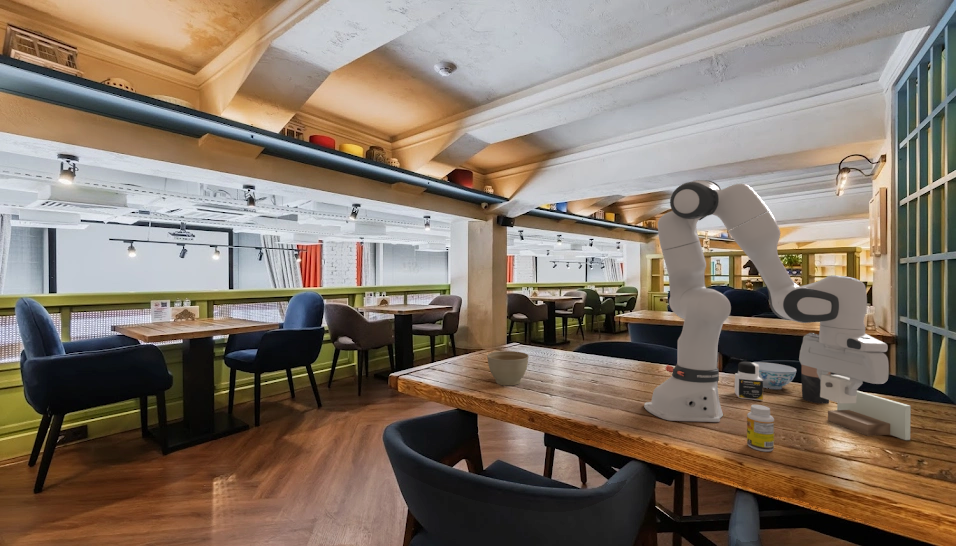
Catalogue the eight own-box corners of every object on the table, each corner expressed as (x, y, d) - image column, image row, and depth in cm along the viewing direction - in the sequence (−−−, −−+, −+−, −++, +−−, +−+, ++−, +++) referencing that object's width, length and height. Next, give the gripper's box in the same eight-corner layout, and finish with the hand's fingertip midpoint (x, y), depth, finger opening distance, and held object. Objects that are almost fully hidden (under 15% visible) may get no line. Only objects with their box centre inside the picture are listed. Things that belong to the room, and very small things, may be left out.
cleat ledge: (867, 435, 109) (867, 424, 109) (827, 420, 120) (827, 410, 120) (890, 434, 110) (890, 423, 110) (848, 419, 121) (848, 409, 121)
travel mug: (835, 404, 135) (836, 344, 135) (809, 403, 136) (810, 343, 136) (821, 397, 142) (821, 340, 142) (796, 396, 144) (797, 339, 144)
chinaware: (748, 379, 166) (748, 360, 165) (795, 385, 157) (795, 365, 157) (746, 388, 153) (746, 367, 153) (797, 395, 145) (797, 373, 144)
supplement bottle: (748, 441, 106) (748, 401, 106) (774, 447, 102) (775, 406, 102) (745, 448, 102) (745, 407, 101) (772, 454, 98) (773, 412, 98)
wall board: (905, 440, 107) (905, 405, 107) (837, 415, 125) (837, 386, 125) (910, 439, 107) (910, 405, 107) (841, 415, 125) (841, 386, 125)
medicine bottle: (738, 398, 141) (739, 363, 141) (734, 392, 148) (734, 359, 148) (763, 401, 138) (763, 365, 138) (757, 395, 145) (758, 361, 145)
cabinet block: (836, 403, 103) (837, 379, 103) (817, 396, 108) (818, 374, 108) (856, 403, 104) (857, 380, 104) (836, 396, 109) (837, 374, 109)
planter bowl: (489, 376, 169) (489, 350, 168) (528, 378, 166) (528, 351, 166) (484, 387, 153) (484, 358, 152) (528, 389, 150) (528, 360, 150)
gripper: (794, 331, 116) (791, 379, 116) (872, 345, 96) (868, 404, 96) (814, 332, 117) (810, 379, 117) (895, 346, 96) (891, 404, 97)
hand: (837, 391), depth 106 cm, fingers closed on cabinet block, 5 cm apart
